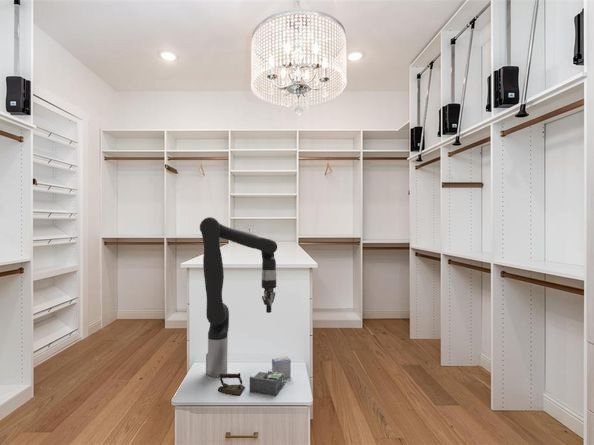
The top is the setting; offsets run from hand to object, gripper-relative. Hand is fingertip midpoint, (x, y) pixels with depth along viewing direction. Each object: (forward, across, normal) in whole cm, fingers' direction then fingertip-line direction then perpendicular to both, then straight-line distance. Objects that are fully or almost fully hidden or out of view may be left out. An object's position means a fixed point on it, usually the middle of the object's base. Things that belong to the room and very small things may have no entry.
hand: (268, 312), depth 171 cm
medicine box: (+27, +11, +11) cm, 31 cm away
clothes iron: (+27, +30, -5) cm, 41 cm away
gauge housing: (+27, +23, +9) cm, 37 cm away
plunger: (+26, +21, +11) cm, 35 cm away
